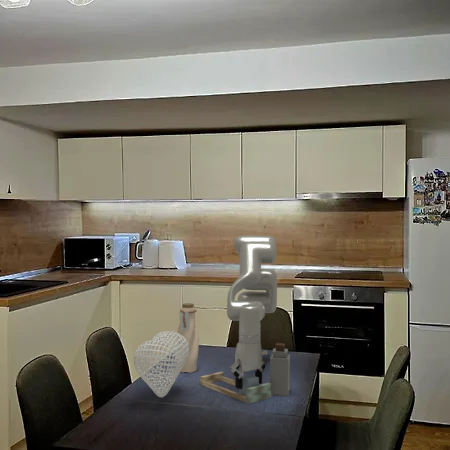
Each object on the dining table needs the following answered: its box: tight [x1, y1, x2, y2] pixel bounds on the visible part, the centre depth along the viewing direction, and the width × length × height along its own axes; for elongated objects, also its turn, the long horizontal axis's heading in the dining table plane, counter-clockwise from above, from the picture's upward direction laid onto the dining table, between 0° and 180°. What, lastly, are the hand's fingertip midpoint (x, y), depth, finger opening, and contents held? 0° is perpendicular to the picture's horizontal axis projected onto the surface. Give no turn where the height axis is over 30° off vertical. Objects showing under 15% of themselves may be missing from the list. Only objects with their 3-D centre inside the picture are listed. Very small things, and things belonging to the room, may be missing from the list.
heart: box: [133, 330, 189, 398], centre depth 198 cm, size 28×16×22 cm, turn 168°
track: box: [199, 371, 272, 405], centre depth 206 cm, size 11×28×5 cm, turn 40°
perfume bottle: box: [269, 342, 291, 397], centre depth 205 cm, size 7×7×18 cm
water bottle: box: [177, 302, 200, 374], centre depth 232 cm, size 10×9×28 cm
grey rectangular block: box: [238, 374, 260, 396], centre depth 200 cm, size 5×5×7 cm
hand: (248, 385), depth 200 cm, fingers open, 9 cm apart
